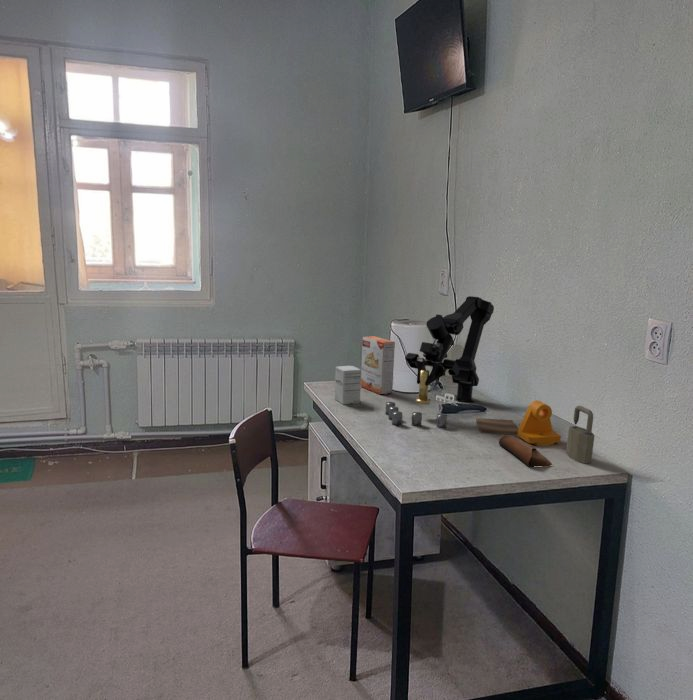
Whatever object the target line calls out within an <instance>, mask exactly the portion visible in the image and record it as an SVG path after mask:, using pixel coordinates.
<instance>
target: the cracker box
mask: <svg viewBox="0 0 693 700" xmlns="http://www.w3.org/2000/svg"><path fill="white" fill-rule="evenodd" d="M395 344H396V343H395V341H393V340H390V339H385V338H383V337H382V338H381V337H379V336H374V335H370V336H369V335H368V336H367V335H366V336H363V337H362V348H361V350H362V351H361V369H360V370H361V388H363V389H366V390H369V391H370V390H371V391H370V392H373V393H375V392H376V393H375V394H377V393H378V395H380V394H384V395H389V394H388V393H391V394H393V388H394V385H393V384H394V367H395V366H394V364H395V347H396V346H395Z"/></svg>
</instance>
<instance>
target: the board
mask: <svg viewBox="0 0 693 700" xmlns="http://www.w3.org/2000/svg"><path fill="white" fill-rule="evenodd" d="M475 423H476V425H477V427H478V429H479V431H480V433H485V434H486V433H488V434H500V435H501V434H502V435H514V436H515V435H517V436H518V429H519V428H518V427H517V426H516V424H515V422H514V421H513V420H511V419H498V418H479V417H478V418H477V417H476V419H475Z"/></svg>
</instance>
